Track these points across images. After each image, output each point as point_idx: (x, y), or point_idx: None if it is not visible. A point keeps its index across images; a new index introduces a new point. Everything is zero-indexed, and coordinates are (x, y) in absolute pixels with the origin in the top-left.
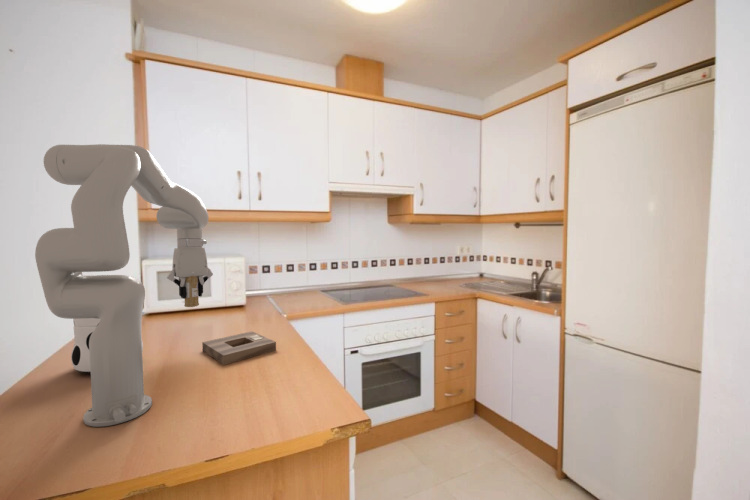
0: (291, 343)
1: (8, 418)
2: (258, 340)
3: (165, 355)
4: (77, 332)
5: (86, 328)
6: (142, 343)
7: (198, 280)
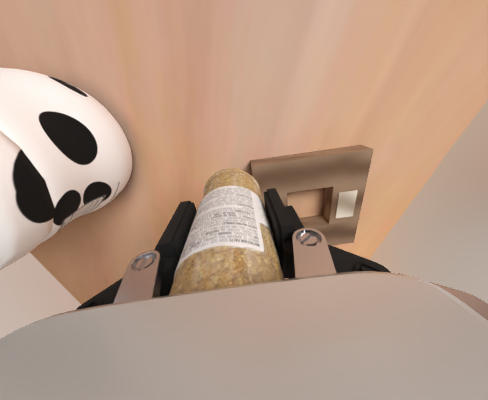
0: (385, 217)
1: (38, 259)
2: (339, 220)
3: (180, 143)
4: None
5: None
6: (120, 162)
7: (300, 263)
